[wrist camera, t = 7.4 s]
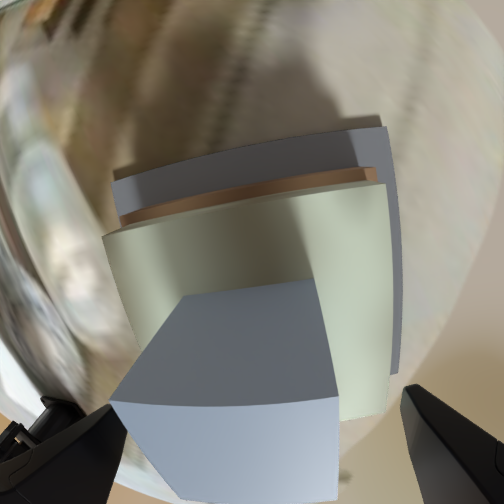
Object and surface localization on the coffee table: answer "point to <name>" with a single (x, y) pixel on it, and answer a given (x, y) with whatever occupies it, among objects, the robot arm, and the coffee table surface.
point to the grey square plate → (274, 167)
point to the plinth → (274, 263)
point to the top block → (239, 398)
